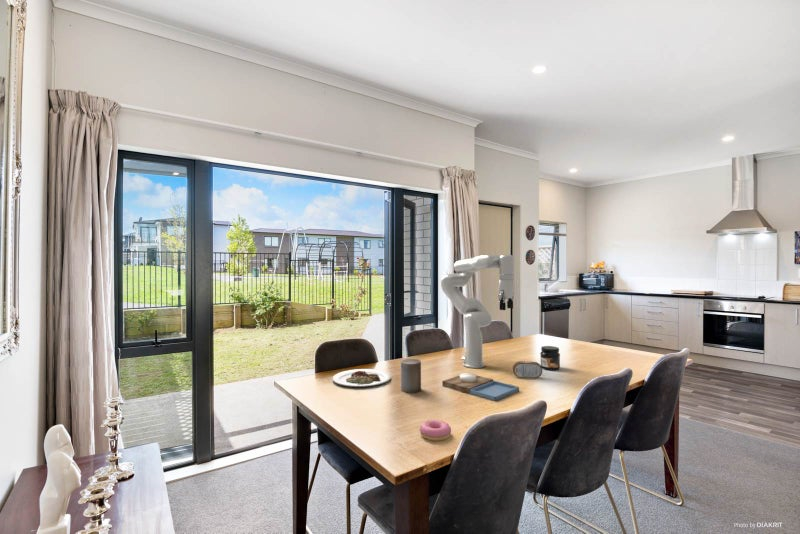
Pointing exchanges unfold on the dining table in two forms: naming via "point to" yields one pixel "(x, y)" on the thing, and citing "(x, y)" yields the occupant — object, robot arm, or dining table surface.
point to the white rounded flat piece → (468, 377)
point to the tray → (494, 390)
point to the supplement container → (550, 358)
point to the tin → (527, 369)
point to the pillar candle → (411, 375)
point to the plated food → (361, 377)
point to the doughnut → (435, 430)
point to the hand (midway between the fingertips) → (506, 309)
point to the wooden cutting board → (464, 383)
